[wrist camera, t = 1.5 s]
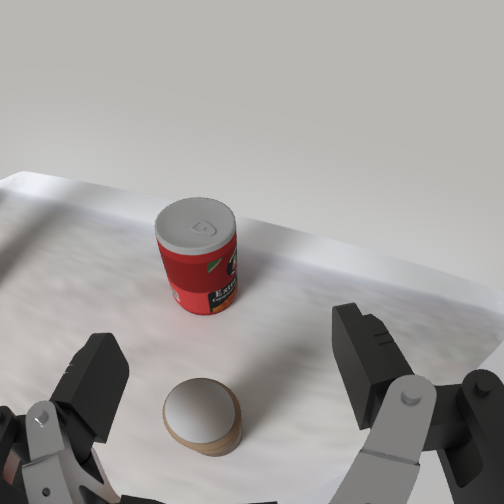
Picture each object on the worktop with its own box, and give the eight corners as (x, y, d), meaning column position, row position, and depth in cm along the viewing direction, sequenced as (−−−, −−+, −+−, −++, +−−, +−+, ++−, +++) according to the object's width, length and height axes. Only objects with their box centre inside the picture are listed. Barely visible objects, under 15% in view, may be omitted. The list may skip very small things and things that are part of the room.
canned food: (224, 326, 32) (217, 259, 24) (162, 305, 33) (137, 237, 25) (246, 275, 37) (247, 205, 29) (189, 260, 38) (177, 191, 30)
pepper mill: (218, 467, 21) (203, 464, 13) (176, 432, 23) (143, 410, 15) (253, 428, 24) (257, 405, 16) (211, 397, 26) (196, 358, 18)
